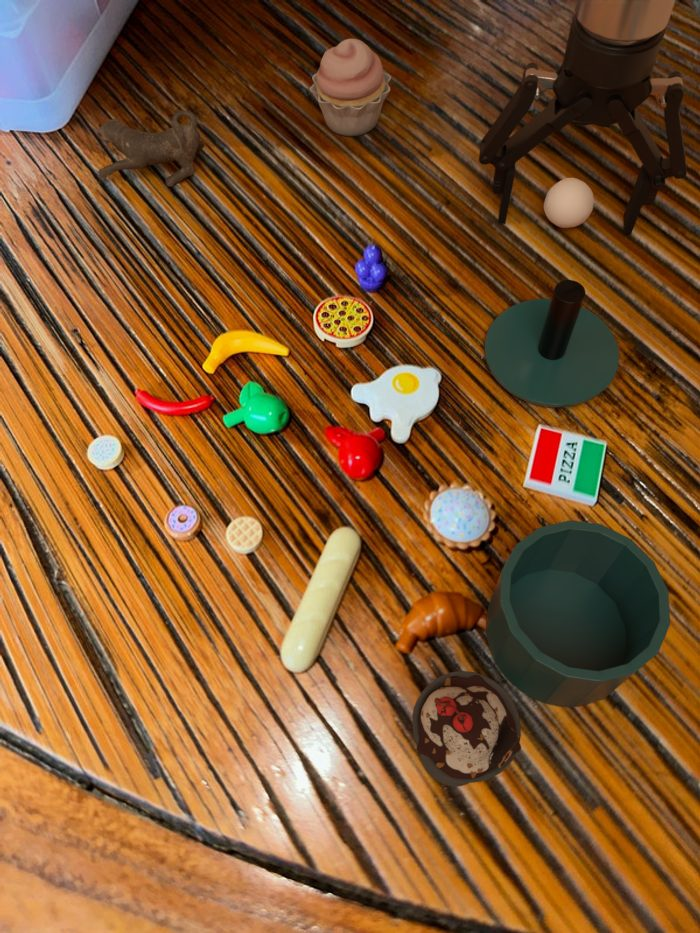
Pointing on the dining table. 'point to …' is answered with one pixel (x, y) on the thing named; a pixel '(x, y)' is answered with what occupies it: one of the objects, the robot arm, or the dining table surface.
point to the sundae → (465, 728)
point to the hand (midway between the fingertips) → (564, 219)
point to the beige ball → (569, 203)
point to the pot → (576, 613)
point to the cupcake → (350, 88)
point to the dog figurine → (154, 146)
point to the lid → (552, 349)
